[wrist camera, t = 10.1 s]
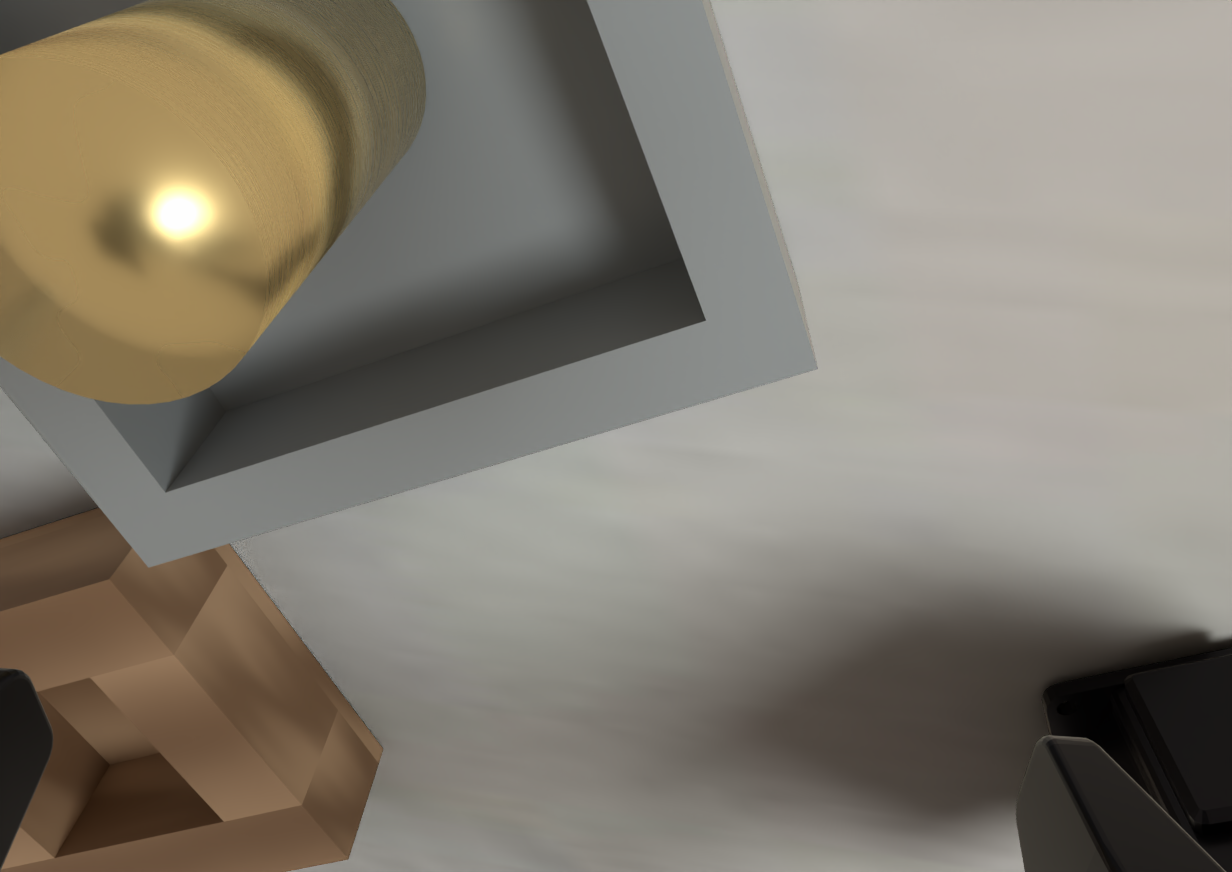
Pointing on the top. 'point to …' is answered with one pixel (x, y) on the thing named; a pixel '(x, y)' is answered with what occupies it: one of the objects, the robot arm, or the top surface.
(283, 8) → the brass pin
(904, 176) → the top surface
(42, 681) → the walnut socket block
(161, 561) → the grey tray
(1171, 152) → the top surface
